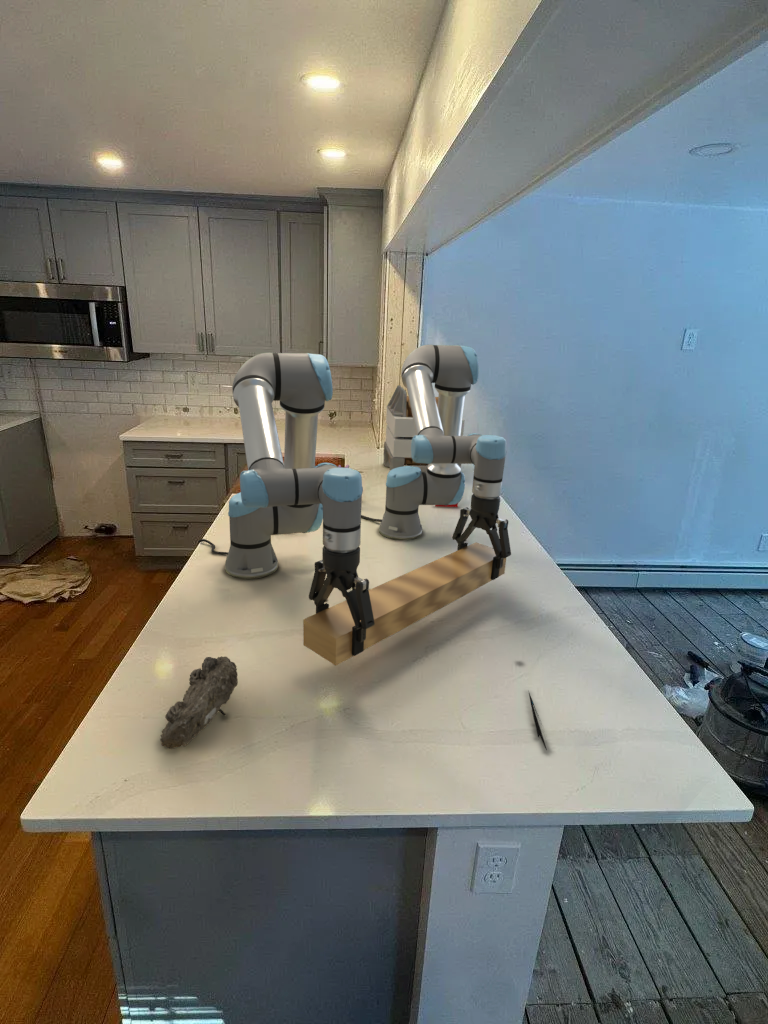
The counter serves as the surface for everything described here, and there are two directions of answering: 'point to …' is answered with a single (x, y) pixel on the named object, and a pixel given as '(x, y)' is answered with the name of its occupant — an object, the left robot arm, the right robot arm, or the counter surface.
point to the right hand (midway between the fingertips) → (477, 571)
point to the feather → (536, 721)
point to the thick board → (401, 601)
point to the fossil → (200, 701)
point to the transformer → (401, 431)
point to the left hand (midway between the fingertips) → (339, 642)
